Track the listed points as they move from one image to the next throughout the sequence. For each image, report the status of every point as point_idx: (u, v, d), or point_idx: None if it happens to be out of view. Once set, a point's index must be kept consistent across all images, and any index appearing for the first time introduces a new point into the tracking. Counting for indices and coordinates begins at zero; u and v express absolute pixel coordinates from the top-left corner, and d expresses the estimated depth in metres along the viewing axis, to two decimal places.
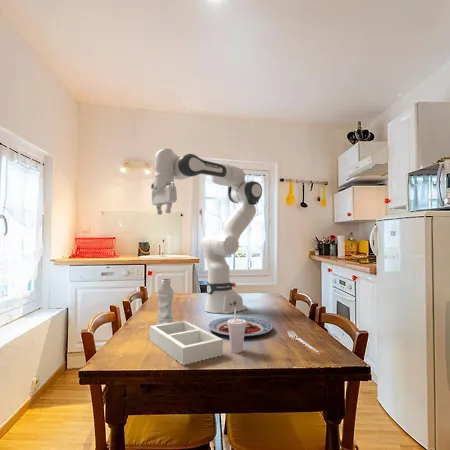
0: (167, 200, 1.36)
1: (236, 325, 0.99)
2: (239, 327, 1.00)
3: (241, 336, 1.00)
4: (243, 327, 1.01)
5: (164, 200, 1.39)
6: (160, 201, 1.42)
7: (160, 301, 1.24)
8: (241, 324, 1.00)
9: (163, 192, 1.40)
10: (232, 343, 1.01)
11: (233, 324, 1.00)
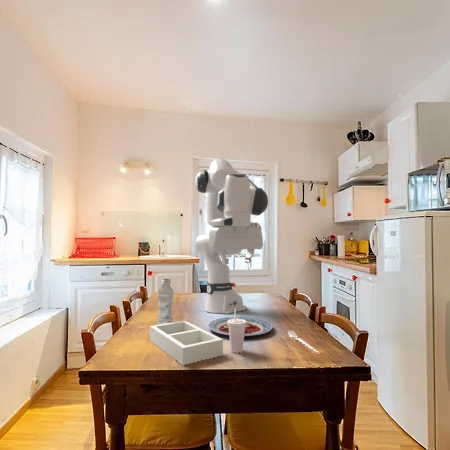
0: (258, 247, 1.06)
1: (236, 325, 0.99)
2: (239, 327, 1.00)
3: (241, 336, 1.00)
4: (243, 327, 1.01)
5: (251, 246, 1.05)
6: (240, 246, 1.02)
7: (160, 301, 1.24)
8: (241, 324, 1.00)
9: (246, 234, 1.04)
10: (232, 343, 1.01)
11: (233, 324, 1.00)
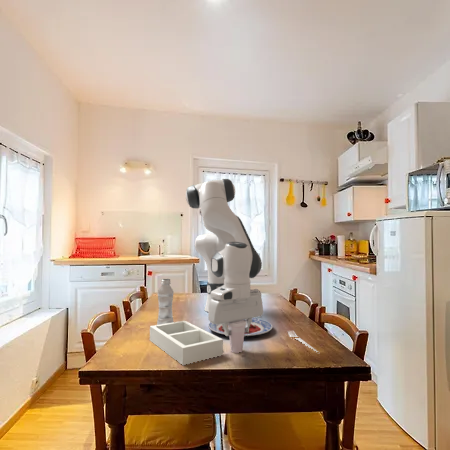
0: (258, 314, 1.06)
1: (236, 325, 0.99)
2: (239, 327, 1.00)
3: (241, 336, 1.00)
4: (243, 327, 1.01)
5: (251, 315, 1.04)
6: (240, 317, 1.01)
7: (160, 301, 1.24)
8: (241, 324, 1.00)
9: (246, 304, 1.03)
10: (232, 343, 1.01)
11: (233, 324, 1.00)
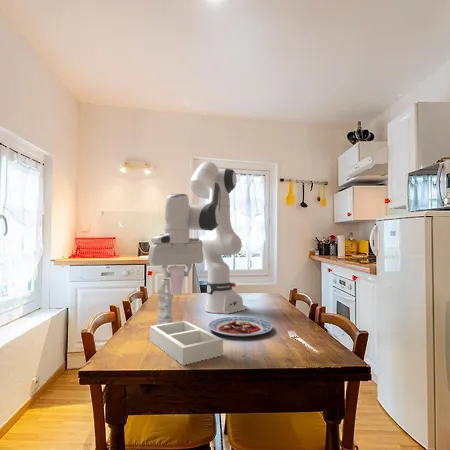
0: (198, 261, 1.14)
1: (174, 269, 1.08)
2: (177, 271, 1.08)
3: (179, 280, 1.09)
4: (181, 271, 1.09)
5: (191, 260, 1.13)
6: (179, 261, 1.10)
7: (160, 301, 1.24)
8: (179, 268, 1.09)
9: (186, 250, 1.12)
10: (171, 286, 1.10)
11: (172, 268, 1.09)
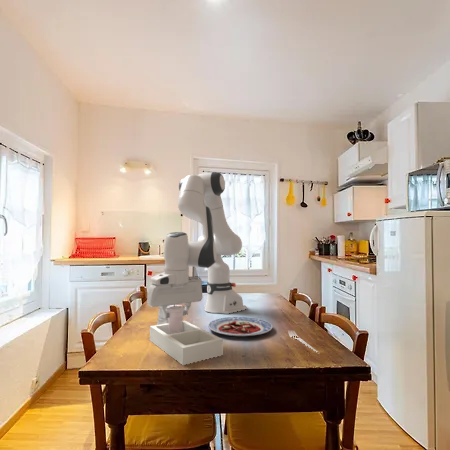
0: (197, 299, 1.14)
1: (173, 310, 1.08)
2: (176, 312, 1.08)
3: (178, 321, 1.09)
4: (180, 312, 1.09)
5: (190, 300, 1.12)
6: (178, 301, 1.10)
7: None
8: (178, 310, 1.08)
9: (185, 289, 1.11)
10: (170, 327, 1.09)
11: (171, 310, 1.08)
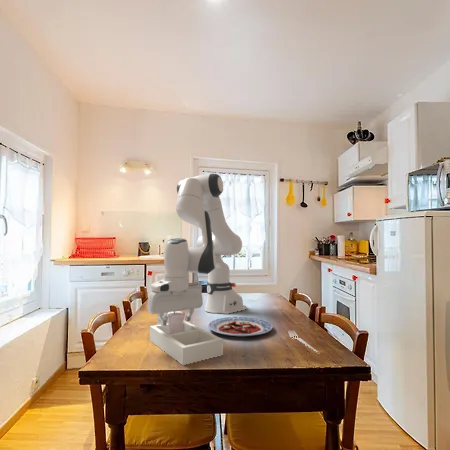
0: (198, 306, 1.14)
1: (174, 317, 1.08)
2: (176, 319, 1.08)
3: (179, 327, 1.09)
4: (181, 319, 1.09)
5: (190, 306, 1.12)
6: (179, 308, 1.09)
7: None
8: (178, 316, 1.08)
9: (185, 296, 1.11)
10: (170, 333, 1.09)
11: (171, 316, 1.08)
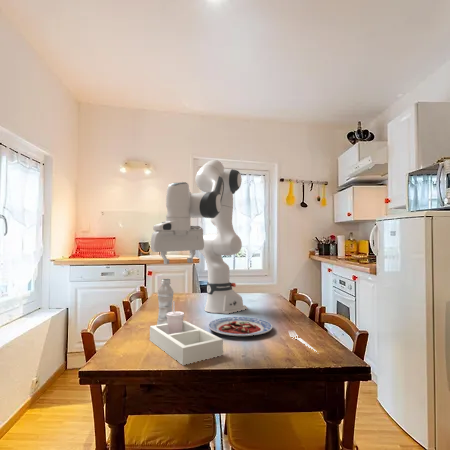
0: (199, 248, 1.17)
1: (173, 317, 1.08)
2: (176, 318, 1.08)
3: (178, 327, 1.09)
4: (180, 319, 1.09)
5: (192, 247, 1.15)
6: (181, 248, 1.13)
7: (160, 301, 1.24)
8: (178, 316, 1.08)
9: (187, 237, 1.15)
10: (170, 333, 1.09)
11: (170, 316, 1.08)
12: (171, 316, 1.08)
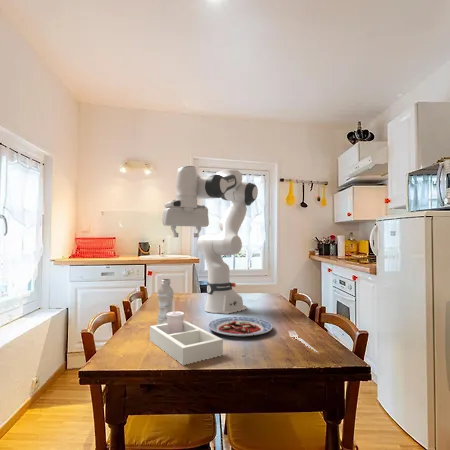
0: (204, 224, 1.33)
1: (173, 317, 1.08)
2: (176, 319, 1.08)
3: (178, 327, 1.09)
4: (180, 319, 1.09)
5: (198, 223, 1.31)
6: (188, 223, 1.29)
7: (160, 301, 1.24)
8: (178, 316, 1.08)
9: (194, 214, 1.30)
10: (170, 333, 1.09)
11: (170, 316, 1.08)
12: (171, 316, 1.08)
